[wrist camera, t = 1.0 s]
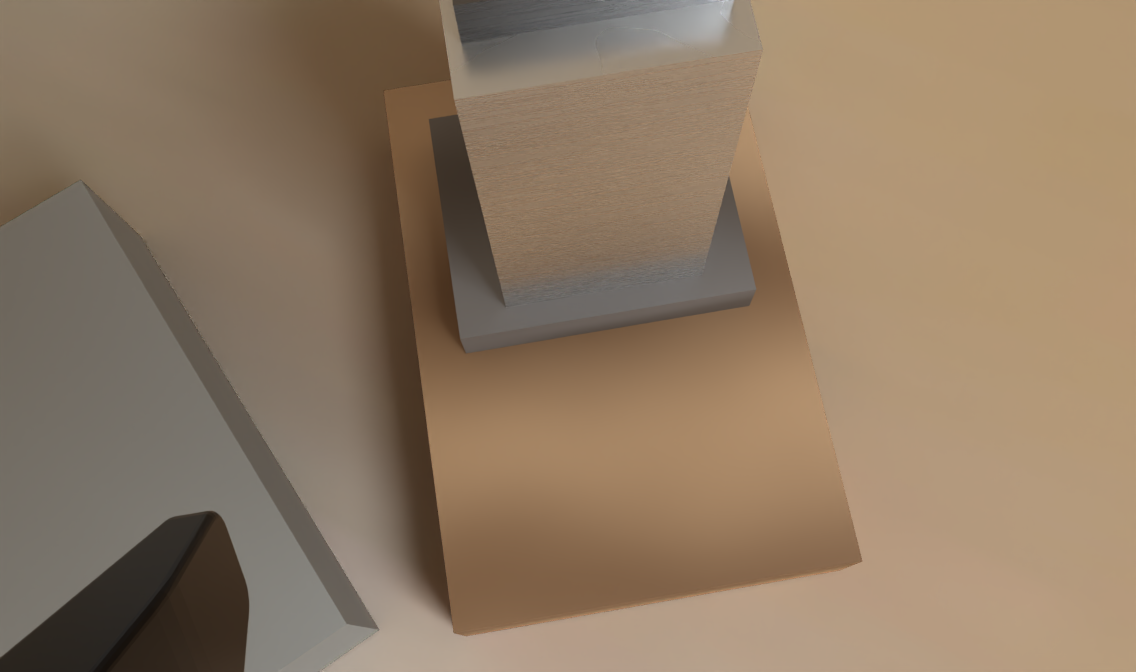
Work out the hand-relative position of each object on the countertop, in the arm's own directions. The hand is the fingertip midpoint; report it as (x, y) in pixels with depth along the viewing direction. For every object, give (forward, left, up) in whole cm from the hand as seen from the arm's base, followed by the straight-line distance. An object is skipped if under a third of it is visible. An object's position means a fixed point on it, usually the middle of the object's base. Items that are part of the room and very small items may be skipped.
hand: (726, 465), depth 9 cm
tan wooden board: (+4, +4, -13) cm, 15 cm away
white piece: (+5, +5, -10) cm, 13 cm away
